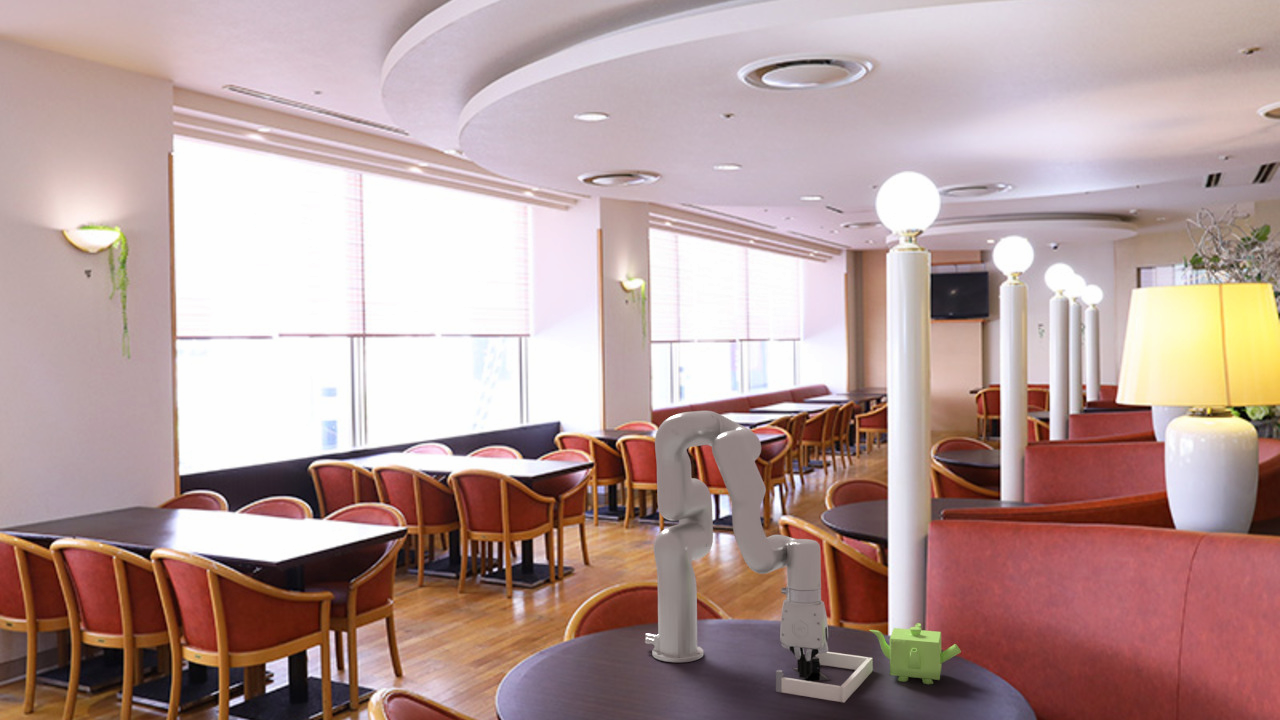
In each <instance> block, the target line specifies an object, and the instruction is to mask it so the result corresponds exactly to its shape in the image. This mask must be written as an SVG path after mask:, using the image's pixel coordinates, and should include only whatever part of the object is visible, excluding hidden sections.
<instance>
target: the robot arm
mask: <svg viewBox="0 0 1280 720" xmlns="http://www.w3.org/2000/svg"><path fill="white" fill-rule="evenodd" d="M654 437H655V438H654V450H655V459H656V461H655V462H656V484H657V485H656V489H657V490H656V492H657V497H656V498H657V508H658V512H659V514H660V515H661V516H662V517H663V519H665V520H668V521H671V522H672V521H674V522H675V521H678V523H679V524H675V525H672V526H669V527H666V528H665V529H663V530H660V532H659V533H658V534H657V536H655V539H654V544H653V555H654V560H655V561H654V562H655V566H656V573H657V575H656V576H657V628H658V629H657V630H658V631H657V633H658V634H653V633H648V632H647V633H645V637H644V643H645V644H648V645H653V646H654V648H653V649H652V651H651V655H652V657H653V658H654V659H656V660H657V661H663V662H667V663H689V662H695V661H698V660H700V659H701V658H703V657H704V649H703V648H702V647H701V646H699V645H698V607H697V605H698V604H697V603H698V602H697V601H698V600H697V599H698V598H697V597H698V596H697V595H698V594H697V593H698V592H697V579H696V577H697V576H696V573H695V571H694V567H693V564H692V563H693V561H696V560H699V559H701V558H704V557H706V556H707V555H708V554H709V552H710V551H711V549H712V546H713V542H714V528H713V527H714V525H713V524H714V523H713V520H714V519H713V501H712V494H711V493H710V492H711V491H710V489H709V488H708V486H707V485H706V483H705V482H703V481H702V480H700V479H698V478H695V477H694V478H692V477H693V476H692V462H691V459H690V456H689V454H688V451H687V450H688V449H689V448H692V447H693V448H694V447H700V446H705V445H706V446H709V447H711V451H712V456H713V458H714V460H715V463H716V465H717V468H718V470H719V473H720V475H721V477H722V480H723V483H724V485H725V488H726V490H727V492H728V494H729V497H730V500H731V505H732V506H731V507H732V509H731V519H732V530H733V536H734V539H735V541H736V545H737V547H738V549H739V551H740V554H741V556H742V559H744V560H743V561H744V563H745V564H746V565H747V567H749V569H750V570H752V571H753V572H754V573H757V574H760V575H764V574H765V575H766V574H769V573H771V572H774V571H776V570H779V569H782V568H786V576H787V577H786V578H787V580H786V583H787V585H786V587H782V588H781V589H780V590H781V591H780V592H781V594H784V595H785V596H786V598H785V599H784V600H783V603H782V608H781V615H780V627H779V628H780V629H779V640H780V642H781V647H782V648H784V649H786V650H788V651H790V652H791V653H792V654H793V655H794V657H795V659H796V661H797V663H796V664H797V668H798V672H799V674H798V675H799V678H801V679H804V678H806V679H807V678H808V677H809V676H810V675H811V674H812V658H813V657H814V656H816V655H817V654H823V653H827V652H829V647H828V642H829V628H828V617H827V612H826V606H825V602H824V601H823V600H822V578H821V577H822V571H821V570H822V569H821V566H822V565H821V564H822V563H821V558H822V557H821V545H820V543H819V542H818V541H817V540H814V539H810V538H809V539H808V538H794V537H789V536H787V535H784V534H773V535H770V536H767V535H766V533H765V531H764V527H763V525H762V521H761V506H762V503H763V500H764V498H765V495H766V491H767V489H766V485H765V483H764V481H763V478H762V475H761V473H760V471H759V468H758V466H757V463H756V460H758V459H759V457H760V455H761V453H762V444H761V440H760V439H759V437H758V435H757V434H756V433H755V431H754V432H753V431H752V430H751V429H750V428H747V427H745V426H744V425H742V424H740V423H738V422H737V421H734V420H732V419H730V418H728V417H726V416H724V415H722V414H720V413H717V412H716V411H711V410H696V411H686V412H685V411H684V412H681V413H680V412H679V413H677V414H674V415H671V416H670V417H668V418H667V419H666V418H665V420H663V422H662V423H661V424H660V425H659V427H658V429H657V431H656V433H655V436H654ZM804 649H806V652H805V650H804ZM804 654H806V657H805V655H804ZM803 677H804V678H803Z"/></svg>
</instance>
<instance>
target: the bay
mask: <svg viewBox="0 0 1280 720" xmlns="http://www.w3.org/2000/svg"><path fill="white" fill-rule="evenodd" d="M816 656H817V657H818V658H819V663H820V666H825V667H826V666H828V667H835V668H840V669H848V670H854V672H853V673H851V674H850V676H849V677H848V678H847V679H846V680H845V681H844V682H843V683H842V684H841V685H837V684H830V683H824V682H823V683H822V682H818V681H806V680H805V679H797V678H791V677H784V671H783V670H781V669H777V670H776V671H775V692H777V693H784V694H789V695H795V696H801V697H802V696H803V697H809V698H814V699H820V700H826V701H833V702H840V703H846V701H847V700H848V699H849V698H850V697H851V696H852V695H853V694H854V692H856V690H857V689H858V688H859V687H860V686H861V685H862V684H863V682H864V681H866V679H867V678H868V677H869V675H870V674H872V673H873V671H874V667H873V657H869V656H861V655H855V654H847V653H846V654H845V653H840V652H833V651H828V652H827V653H823V654H817V655H816Z"/></svg>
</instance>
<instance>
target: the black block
mask: <svg viewBox="0 0 1280 720" xmlns="http://www.w3.org/2000/svg"><path fill="white" fill-rule="evenodd" d="M804 655H805V657H806V653H804ZM791 670H793V671H794V672H795V673H797V674H798V675H799V672H798V667H793V668H792V669H791ZM802 679H803V680H805V681H811V682H818V681H829V680H830V678H829V677H828V676H826V675H825V674H824V673H823V672H822V671H821V665H820V663H819V658H818V657H817V656H814V657H813V658H812V674H811V675H810V676H809V677H808V678H807V679H806V678H804V677H803V678H802Z"/></svg>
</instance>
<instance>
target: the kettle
mask: <svg viewBox="0 0 1280 720" xmlns="http://www.w3.org/2000/svg"><path fill="white" fill-rule="evenodd" d="M869 631H870V632H871V633H873V634H874V635H875V636H876V638H877V639H878V642H879V645H880V646H879V647H880V648H881V651H882V653H883V655H884V656H885V657H886V658H887V659H889V675H890V676H895V677H898V678H897V679H896V680H897V681H898V682H902V683H903V682H908V681H909V678H913V679H914V678H916V679H921V680H922V681H921V682H922V683H923V684H924V685H925V684H926V685H933V684H934V681H933V680H935V681H936V680H937V681H940V679H941V673H942V664H943V663H945V662H946V661H949V660H950V659H951V658H953V657H955V656H957V655H958V654H960V653H961V652H962V651H961V649H960V648H959V646H958V645H957V644H956V643H954V644H953V645H952V646H949V647H948V648H946V649H945V650H943V651H942V632H941V631H935V630H934V631H932V630H924V629H923V630H922V624H921V623H919V622H917V623H916V624H915V625H914V626H911V627H910V628H899V627H897V628H896V627H893V629H892V632H891V635H890V637H889V644H888V643H887V642H886V641H887V640H886V638H885V636H884V633H882V632H881V631H879V630H878V629H877V630H876V629H869Z"/></svg>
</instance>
